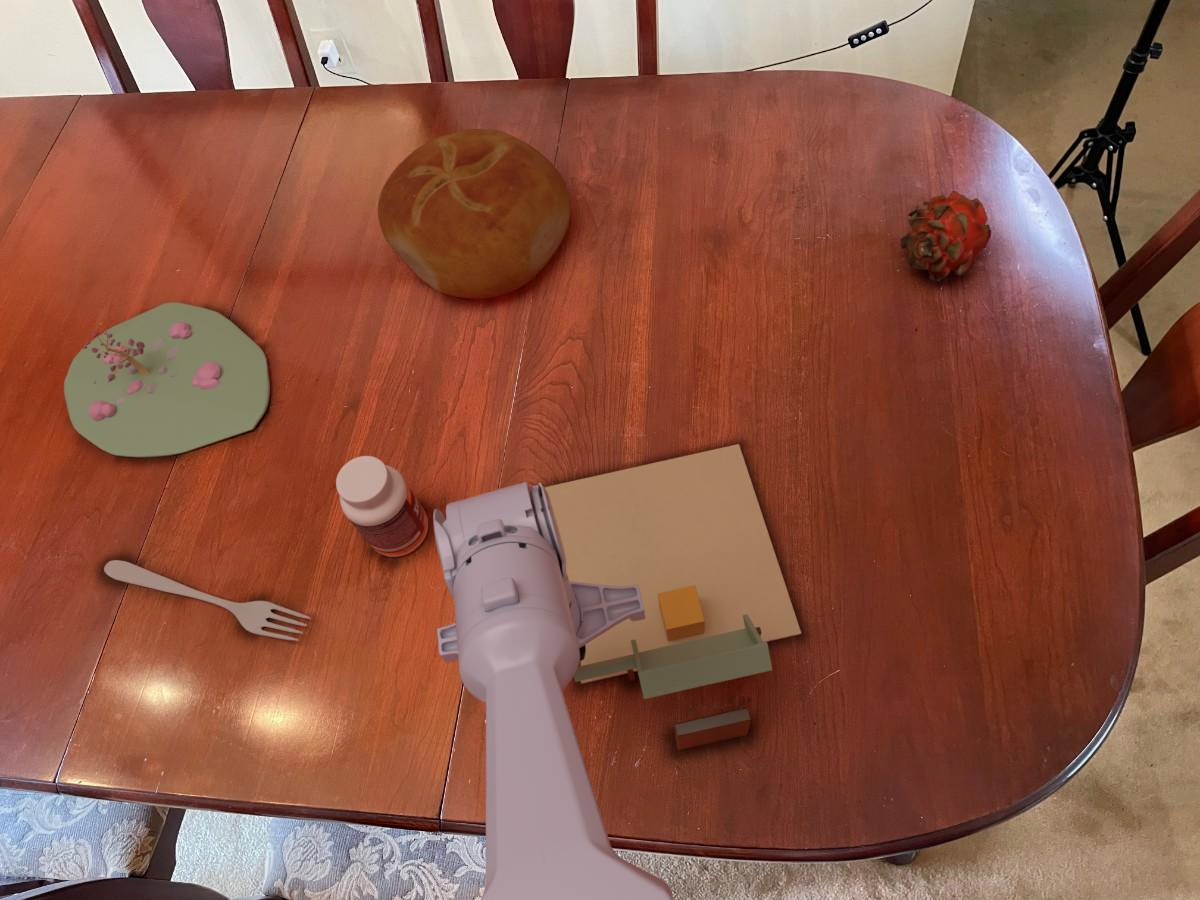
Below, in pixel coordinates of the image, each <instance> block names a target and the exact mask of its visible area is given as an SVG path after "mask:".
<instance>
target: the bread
mask: <svg viewBox="0 0 1200 900" xmlns="http://www.w3.org/2000/svg"><path fill="white" fill-rule="evenodd" d="M571 211H572V202H571V196H570V191H569V189H568V185H567V183H566V181H565V179H564V177H563V176H562V174H561V172H560V171H559V170H558V169H557V167H556V166H555V165H554V164H553V163H552V162H551V161H550V159H548V158H547V157H546V156H545V155H543V153H541V152H540V151H539V150H538V149H536V148H535V147H534V146H532V145H530V144H528V143H527V142H525V141H524V140H522V139H521V138H518V137H517V136H514V135H512V134H509V133H507V132H505V131H502V130H499V129H492V128H466V129H461V130H458V131H454V132H452V133H447V134H443V135H440V136H437V137H435V138H433V139H431V140H429V141H427V142H425V143H423V144H422V145H420V146H419V147H417V148H415V150H413V151H411V153H410V154H408V155H407V156H406V157H405V158H404V159H403V160H402V161H401V162H400V163H398V165H397V166H396V167H395V169H394V170H393V171H392V173H390V175H389V176H388V178H387V180H386V181H385V183H384V185H383V187H382V188H381V191H380V193H379V196H378V203H377V217H378V223H379V227H380V229H381V233H382V235H383V238H384V240H385V241H386V243H388V245H389V246H390V248H391V249H393V250H394V252H395V253H396V254H397V255H398V257H400V258H401V259H402V261H403V262H404V263H405V264H406V266H408V267H409V268H410V269H411V270H412V272H413V273H414V274H415V275H416V276H417V277H418V278H419V279H420V280H422V281H423V282H424V283H425V284H427V285H428V286H429V287H431V288H432V289H434V290H435V291H437V292H439V293H441V294H444V295H447V296H451V297H455V298H456V297H457V298H465V299H475V300H476V299H477V300H478V299H490V298H494V297H497V296H498V297H499V296H501V295H505V294H508V293H512V292H513V291H516V290H517V289H519V288H521V287H523V286H524V285H526V284H528V283H530V281H531V280H533V279H534V278H535V277H536V276H537V275H538V274H539V273H540V272H541V271H542V269H543V268H544V267H545V266H546V265H547V264H548V263H549V261H550V260H551V258H553V256H554V255H555V253H556V252H557V250H558V248H559V246H560V245H561V243H562V242H563V239H564V237H565V235H566V233H567V231H568V229H569V225H570V221H571V213H572V212H571Z"/></svg>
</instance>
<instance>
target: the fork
mask: <svg viewBox="0 0 1200 900" xmlns="http://www.w3.org/2000/svg"><path fill="white" fill-rule="evenodd" d="M103 571H104V573H105V574H106V575H107V576H108V577H110V578H112V579H113V580H116V581H119V582H123V583H127V584H130V585H131V584H132V585H136V586H140V587H144V588H147V589H151V590H156V591H160V592H164V593H170V594H173V595H174V594H175V595H179V596H183V597H189V598H193V599H197V600H200V601H203V602H207V603H211V604H214V605H217V606H220V607H221V608H223V609H226V610H227V611H229V612H230V613H232V614H233V615H234V617H236V619H237V621H238V622H239V623H240V625H241V627H242V628H244V630H246V631H247V632H249V633H251V634H255V635H259V636H263V637H270V638H275V639H281V640H285V641H286V640H287V641H295V642H298V641H299V638H296V637H293V636H290V635H286V634H282V633H277V632H272V631H268V630H267V631H266V630H265V629H264V630H263V629H262V628H264V627H265V628H271V629H275V630H279V631H284V632H289V633H294V634H300V635H302V634H303V631H301V630H298V629H296V628H292V627H289V626H285V625H282V624H278V623H274V622H271V621H268V620H267V619H273V620H276V621H280V622H285V623H288V624H292V625H296V626H301V627H307V626H308V624H306V623H304V622H301V621H299V620H297V619H293V618H289V617H286V616H283V615H280V614H277V613H274V612H272V610H275V611H279V612H282V613H285V614H288V615H292V616H294V617H297V618H303V619H307V620H311V618H312V617H311V616H309V615H306V614H303V613H301V612H299V611H295V610H293V609H290V608H287V607H284V606H281V605H279V604H277V603H273V602H271V601H268V600H253V601H247V602H237V601H236V602H235V601H230V600H227V599H223V598H221V597H217V596H214V595H211V594H208V593H205V592H202V591H200V590H197V589H195V588H192V587H190V586H187V585H185V584H182V583H181V582H179V581H178V582H177V581H175V580H173V579H170V578H168V577H165V576H163V575H160V574H158V573H156V572H153V571H150V570H149V569H146V568H144V567H142V566H139V565H137V564H134V563H132V562H129V561H126V560H121V559H120V560H119V559H114V560H113V559H112V560H110V561H108V562H107V563H106V564H105V565H104V568H103Z"/></svg>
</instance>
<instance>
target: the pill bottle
mask: <svg viewBox="0 0 1200 900" xmlns="http://www.w3.org/2000/svg"><path fill="white" fill-rule="evenodd" d="M335 487H336V491H337V493H338V495H339V504H340V508H341V511H342V513H343V514H344V515H345V517H346V518H347V519H348V520H349V521H350V523H351V524H352V525H353V526H354V527H355V529H356V530H357V531H358V532H359V533H360V535H361V536H362V537H363V538H364V540H365V541H366V542H367V544H368V545H370V546H371V548H372V549H373V550H374V551H375V552H377V553H378V554H380V555H383V556H386V557H389V558H398V557H402V556H406V555H409V554H410V553H412V552H414V551H415V550H416V549H417V548H419V547H420V546H421V544H422V543H423V542H424V540H425V539H426V536H427V534H428V530H429V517H428V516H427V513H426V511H425V509H424V507H423V506H422V505H421V503H420V501H419V500H418V498H417V496H416V495H415V494H414V492H413V490H412V489H411V487H410V486H409V484H408V482H407V481H406V480H405V478H404V476H403V475H402V474H401V472H400V471H398V470H397V469H396V468H394V467H393V466H390V465H388V464H385V463H384V462H383V461H382V460H381V459H380V458H378V457H375V456H372V455H361V456H356V457H354V458H352V459H350V460H349V461H347V462H346V463H345V464H344V465H343V466H341V468H340V469H339V471H338V473H337V475H336V479H335Z"/></svg>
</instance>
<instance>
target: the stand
mask: <svg viewBox="0 0 1200 900" xmlns="http://www.w3.org/2000/svg"><path fill="white" fill-rule="evenodd" d="M756 630H757V632H758V633H759V635H760V636H761V629H760V627H756ZM627 672H628V673H627V675H628V679H629V682H635V681H636V677H635V672H634V671H633V669H630V670H627ZM749 710H750V709H749V708H748V707H743V708H739V709H734V710H729V711H725V712H721V713H717V714H712V715H708V716H703V717H699V718H694V719H691V720H685V721H681V722H677V723H674V727H673V728H674V736H675V742H676V747H677V750H678V751H683V750H686V749H690V748H697V747H700V746H704V745H709V744H713V743H716V742H717V743H718V742H722V741H726V740H730V739H735V738H739V737H742V736H747V735H748V732H749V729H750V726H751V722H752V716H751V713H750V711H749Z"/></svg>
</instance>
